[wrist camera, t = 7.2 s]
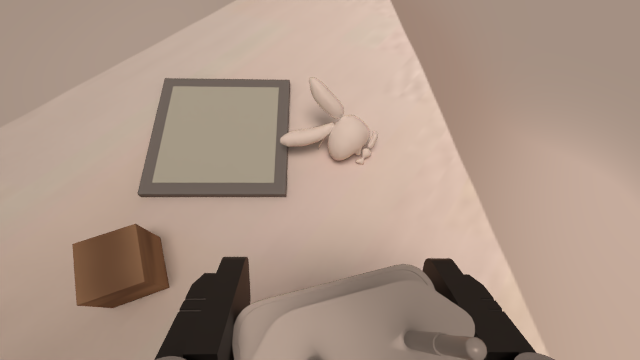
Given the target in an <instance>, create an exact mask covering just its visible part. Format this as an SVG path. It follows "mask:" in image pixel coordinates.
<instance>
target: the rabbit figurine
mask: <svg viewBox="0 0 640 360" xmlns="http://www.w3.org/2000/svg"><path fill="white" fill-rule="evenodd" d="M309 83H310V88H311V92H312V95H313V98H314V99H315V101H316V102H317V103H318V104H319V106H320V107H321V108H322V109H323V110H324V111H325V112H326V113H328V114H329V115H330V116H332V117H333V118H334V119H337V118H340V119H339V121H338V122H336V123H335V125H334V122H332V123H329V124H325V125H322V126H318V127H314V128H309V129H301V130H295V131H291V132H289V133H287V134H285V135H284V136H282V137H281V138H280V143H281V144H283V145H285V146H289V147H290V146H306V145H309V144H312V143H316V142H318V141H321V140H322V141H321V143H320V144H319V146H318V149H319V148H320V146H321V144H322V142H323V141H324V139H325V137H326V136H327V135H328V134H330V135H329V138H328V149H329V152H330V155H331V156H332V158H333V159H335V160H338V161H340V160H344V159H346V158H348V157H350V156H351V155H353V154H356V155H361V149H362V147H363V145H364V146H365V145H367V141H368V139H369V136H370V131H369V128H368V126H367V125H366V124H365V123H364V122H363V121H362V120H361V119H360V118H358V117H356V116H353V115H346V116H343V114H344V108H343V106H342V104H341V103H340V101H339V100H338V99H337V98H336V97H335V96H334V94H333V93H332V92H331V91H330V90H329V89H328V88H327V87H326V86H325V85H324V84H323V83H322V82H321V81H320V80H318V79H317V78H315V77H311V78H309ZM377 137H378V134H377V133H376V131H373V135H372V137H371V139H370V141H369V143H368V145H367V147H368V148H369V149H370V148H372V147H373V146H374V144H375V141H376V140H377ZM368 148H365V149H363V151H362V158H360V159H358V160H356V163H359V164H362V165H363V164H364V158H366V157H369V156H370V155H371V151H370V150H369V149H368Z"/></svg>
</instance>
